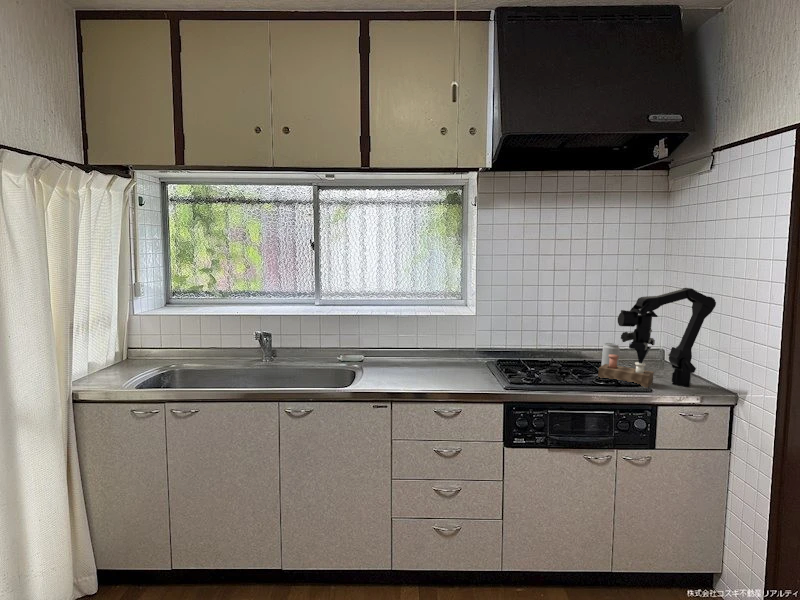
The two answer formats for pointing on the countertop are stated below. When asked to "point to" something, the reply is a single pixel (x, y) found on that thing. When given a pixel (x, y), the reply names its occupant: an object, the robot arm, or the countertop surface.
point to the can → (609, 352)
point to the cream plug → (640, 367)
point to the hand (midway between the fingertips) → (640, 363)
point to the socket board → (626, 375)
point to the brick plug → (613, 361)
